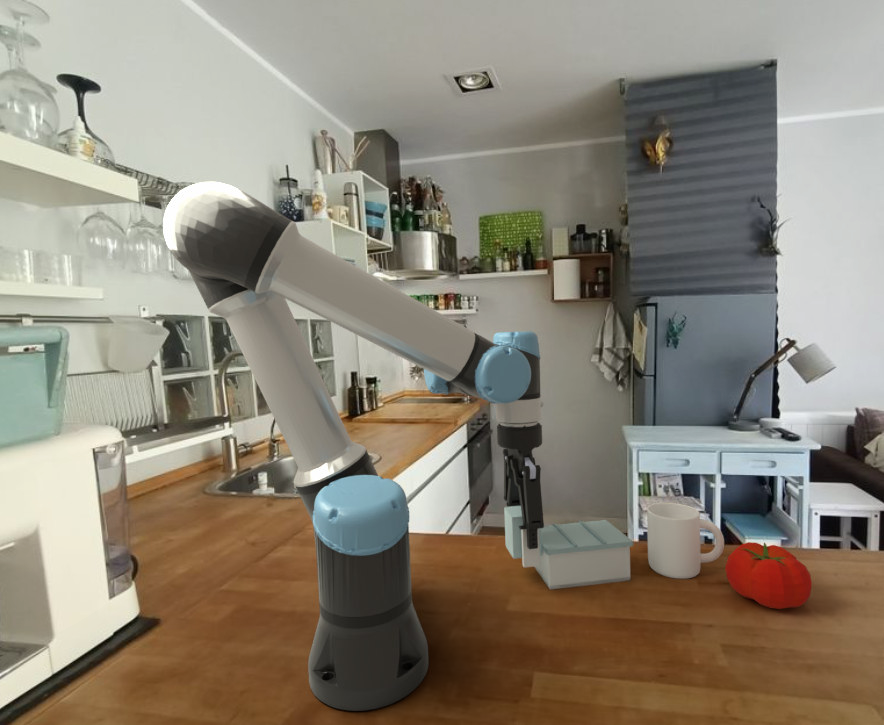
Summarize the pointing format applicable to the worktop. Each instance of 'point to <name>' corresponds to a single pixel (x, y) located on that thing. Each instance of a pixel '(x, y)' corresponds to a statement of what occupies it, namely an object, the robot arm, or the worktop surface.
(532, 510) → the robot arm
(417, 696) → the worktop surface
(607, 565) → the tub
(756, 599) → the tomato
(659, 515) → the mug
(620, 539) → the lid
